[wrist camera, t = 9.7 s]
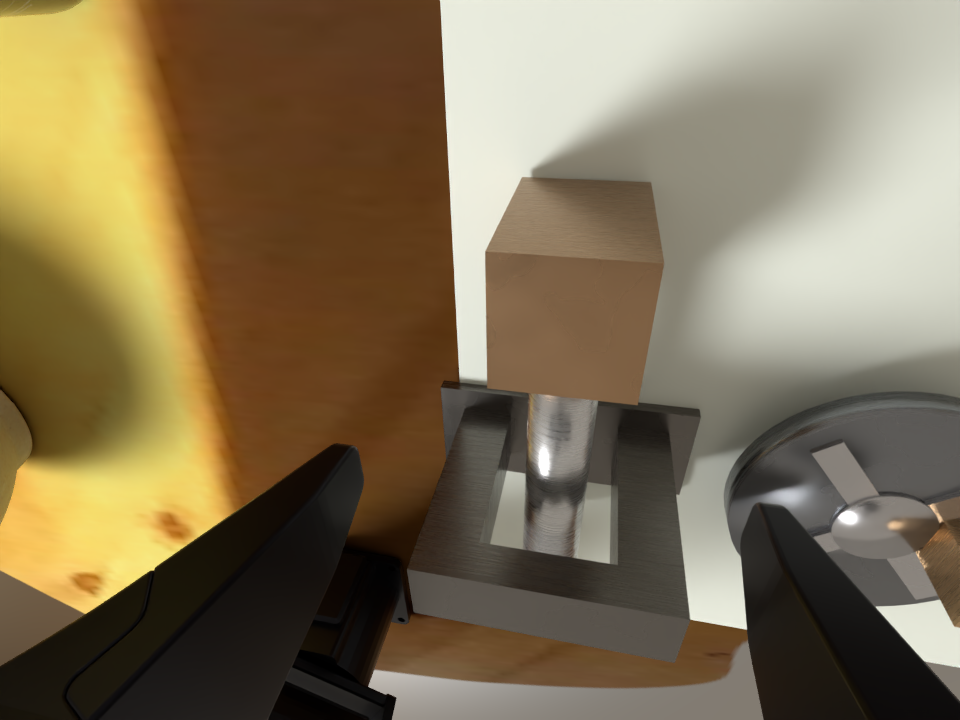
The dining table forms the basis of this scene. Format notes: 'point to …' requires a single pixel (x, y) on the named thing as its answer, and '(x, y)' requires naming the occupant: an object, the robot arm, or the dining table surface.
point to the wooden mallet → (569, 329)
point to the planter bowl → (11, 448)
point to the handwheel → (867, 490)
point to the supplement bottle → (34, 7)
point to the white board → (731, 216)
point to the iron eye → (546, 577)
